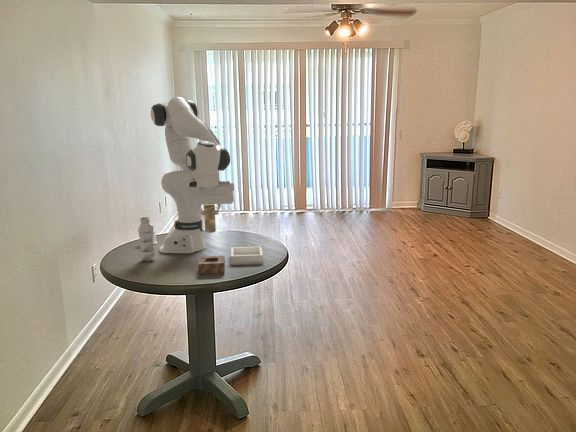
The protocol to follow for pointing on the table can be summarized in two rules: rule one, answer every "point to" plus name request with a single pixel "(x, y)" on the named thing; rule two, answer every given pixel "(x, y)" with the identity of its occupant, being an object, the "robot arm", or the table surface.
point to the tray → (246, 255)
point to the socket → (211, 265)
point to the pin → (209, 218)
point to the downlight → (154, 235)
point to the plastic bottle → (146, 240)
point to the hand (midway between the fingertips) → (209, 214)
